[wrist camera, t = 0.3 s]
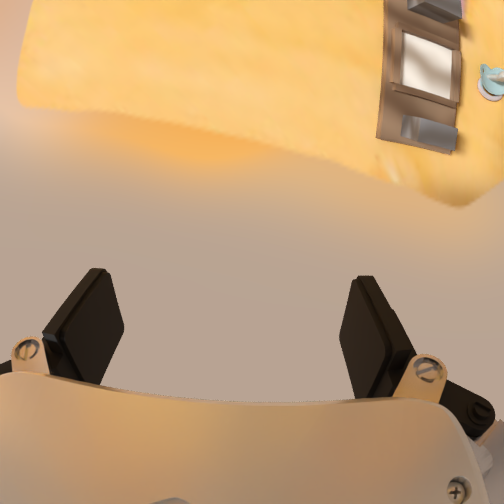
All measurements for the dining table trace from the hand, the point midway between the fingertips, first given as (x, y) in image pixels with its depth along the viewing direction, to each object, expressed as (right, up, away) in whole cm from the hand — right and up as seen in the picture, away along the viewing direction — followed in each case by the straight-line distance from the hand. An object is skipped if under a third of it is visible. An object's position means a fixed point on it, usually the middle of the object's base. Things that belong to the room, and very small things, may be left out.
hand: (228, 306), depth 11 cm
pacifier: (+38, +29, +19) cm, 52 cm away
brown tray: (+24, +28, +20) cm, 42 cm away
